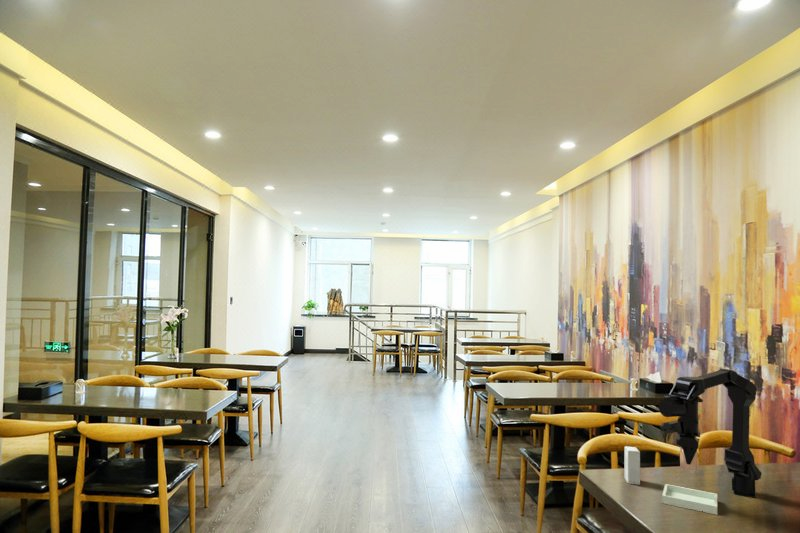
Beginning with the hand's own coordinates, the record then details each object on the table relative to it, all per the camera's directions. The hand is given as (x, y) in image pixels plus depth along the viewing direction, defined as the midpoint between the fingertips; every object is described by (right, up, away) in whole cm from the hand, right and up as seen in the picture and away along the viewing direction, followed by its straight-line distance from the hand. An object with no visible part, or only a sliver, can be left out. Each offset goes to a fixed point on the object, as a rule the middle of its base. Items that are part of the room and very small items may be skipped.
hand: (688, 462), depth 170 cm
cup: (0, -2, 0) cm, 2 cm away
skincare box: (-11, -14, +17) cm, 25 cm away
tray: (0, -13, -1) cm, 13 cm away
